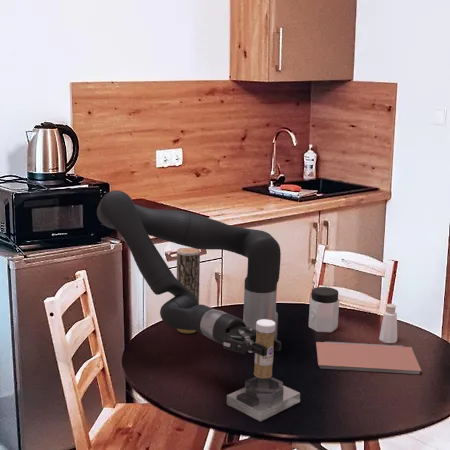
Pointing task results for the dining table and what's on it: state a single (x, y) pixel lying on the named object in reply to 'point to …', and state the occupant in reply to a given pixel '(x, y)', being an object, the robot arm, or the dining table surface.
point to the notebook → (367, 357)
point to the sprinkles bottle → (266, 339)
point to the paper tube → (189, 272)
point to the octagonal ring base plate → (263, 398)
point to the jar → (324, 309)
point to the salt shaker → (389, 325)
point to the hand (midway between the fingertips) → (273, 349)
